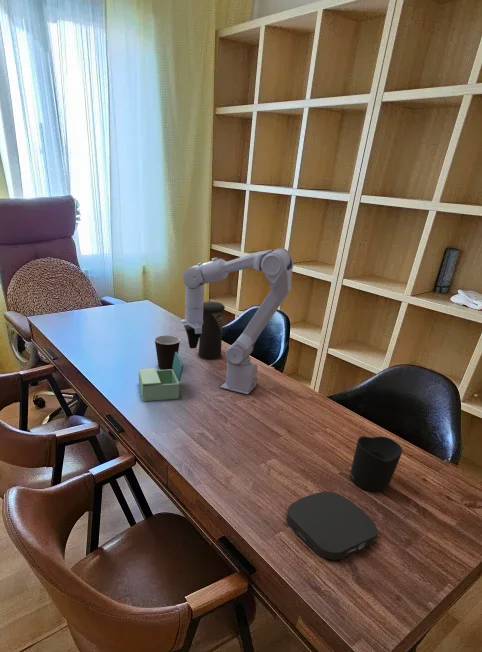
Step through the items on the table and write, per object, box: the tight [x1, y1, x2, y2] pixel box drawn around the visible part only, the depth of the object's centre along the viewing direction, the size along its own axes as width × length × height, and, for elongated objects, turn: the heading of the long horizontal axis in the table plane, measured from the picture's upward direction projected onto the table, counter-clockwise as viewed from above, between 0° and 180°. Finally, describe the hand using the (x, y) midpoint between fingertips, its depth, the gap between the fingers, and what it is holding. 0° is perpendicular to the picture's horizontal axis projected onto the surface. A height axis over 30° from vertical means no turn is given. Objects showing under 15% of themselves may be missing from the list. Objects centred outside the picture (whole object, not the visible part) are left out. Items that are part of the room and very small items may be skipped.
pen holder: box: [349, 435, 403, 493], centre depth 97 cm, size 9×9×10 cm
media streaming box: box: [286, 491, 378, 561], centre depth 85 cm, size 15×15×3 cm
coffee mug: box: [154, 334, 181, 370], centre depth 149 cm, size 12×9×10 cm
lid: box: [172, 352, 184, 383], centre depth 131 cm, size 5×11×1 cm
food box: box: [138, 367, 180, 402], centre depth 133 cm, size 11×11×6 cm
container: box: [198, 300, 225, 360], centre depth 156 cm, size 9×9×20 cm
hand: (192, 347), depth 140 cm, fingers closed
